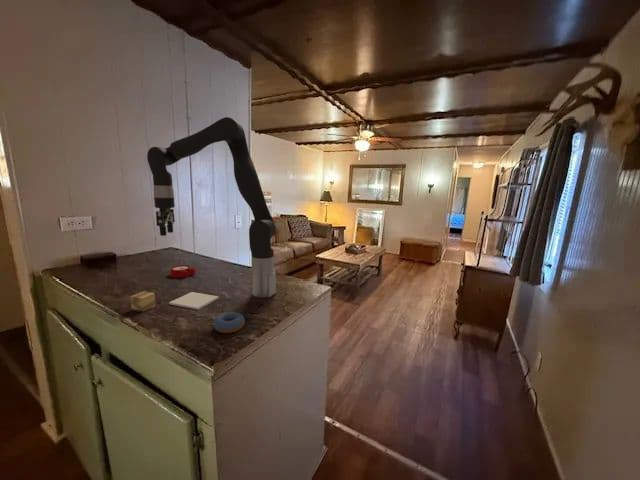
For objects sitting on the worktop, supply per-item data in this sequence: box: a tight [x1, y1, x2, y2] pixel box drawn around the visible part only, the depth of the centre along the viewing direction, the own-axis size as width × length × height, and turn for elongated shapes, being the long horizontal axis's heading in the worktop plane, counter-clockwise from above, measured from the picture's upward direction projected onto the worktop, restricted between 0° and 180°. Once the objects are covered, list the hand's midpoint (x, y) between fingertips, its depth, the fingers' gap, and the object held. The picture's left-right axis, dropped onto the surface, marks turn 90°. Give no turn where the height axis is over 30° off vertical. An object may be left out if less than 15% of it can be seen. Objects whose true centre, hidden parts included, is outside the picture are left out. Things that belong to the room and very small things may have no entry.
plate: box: [168, 291, 220, 311], centre depth 112 cm, size 14×12×1 cm
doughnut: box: [213, 311, 246, 334], centre depth 92 cm, size 10×10×5 cm
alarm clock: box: [169, 264, 197, 279], centre depth 144 cm, size 10×6×15 cm
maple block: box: [129, 290, 157, 312], centre depth 104 cm, size 6×6×6 cm
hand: (167, 234), depth 120 cm, fingers open, 8 cm apart
